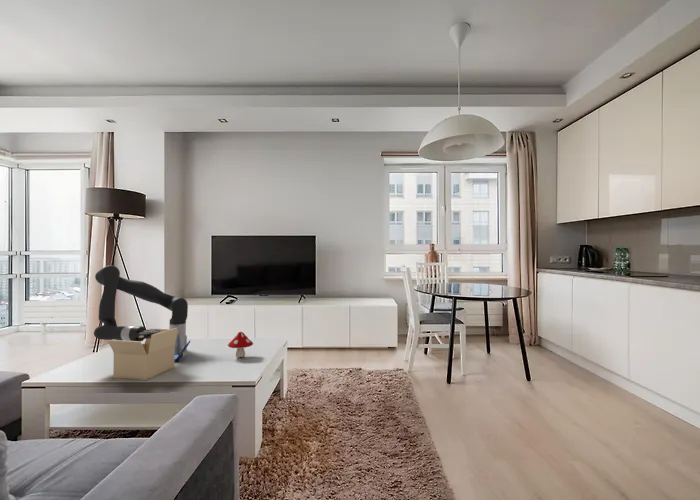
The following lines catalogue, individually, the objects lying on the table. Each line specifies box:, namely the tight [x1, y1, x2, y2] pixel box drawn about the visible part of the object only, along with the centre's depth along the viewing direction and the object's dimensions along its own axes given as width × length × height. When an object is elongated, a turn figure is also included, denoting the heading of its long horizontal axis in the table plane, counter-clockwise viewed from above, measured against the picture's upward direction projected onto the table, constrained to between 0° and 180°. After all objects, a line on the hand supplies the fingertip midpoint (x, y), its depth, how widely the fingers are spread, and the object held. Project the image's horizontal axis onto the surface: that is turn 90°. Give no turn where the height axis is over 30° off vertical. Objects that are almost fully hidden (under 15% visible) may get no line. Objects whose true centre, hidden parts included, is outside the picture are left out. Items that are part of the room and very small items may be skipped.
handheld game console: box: [174, 340, 191, 364], centre depth 207 cm, size 16×13×9 cm
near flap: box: [148, 328, 177, 354], centre depth 181 cm, size 19×9×1 cm
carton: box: [107, 328, 179, 381], centre depth 182 cm, size 28×19×19 cm, turn 170°
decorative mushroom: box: [227, 331, 254, 358], centre depth 210 cm, size 14×14×15 cm
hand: (164, 334), depth 181 cm, fingers closed
